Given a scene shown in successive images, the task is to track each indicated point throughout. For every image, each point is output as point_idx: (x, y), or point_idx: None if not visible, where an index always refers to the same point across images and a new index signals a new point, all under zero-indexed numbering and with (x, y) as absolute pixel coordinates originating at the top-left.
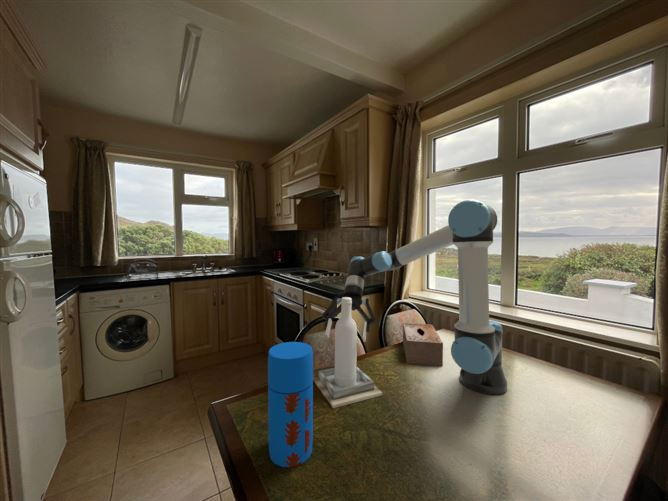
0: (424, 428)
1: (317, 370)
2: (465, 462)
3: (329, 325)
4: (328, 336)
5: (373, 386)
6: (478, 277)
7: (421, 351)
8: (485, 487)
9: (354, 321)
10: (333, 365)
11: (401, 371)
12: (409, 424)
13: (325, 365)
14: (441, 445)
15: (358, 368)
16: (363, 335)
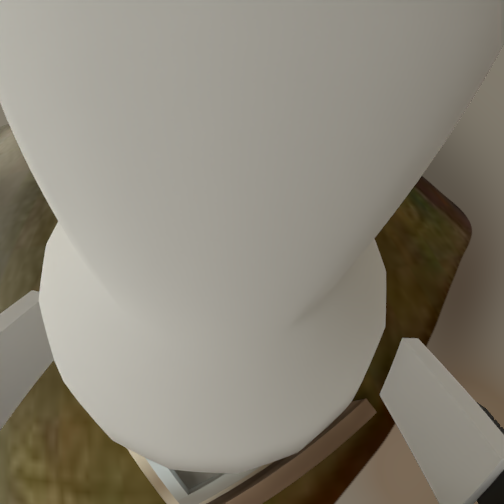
0: (16, 211)
1: (349, 411)
2: (4, 155)
3: (448, 406)
4: (387, 385)
5: None
6: None
7: None
8: (10, 129)
9: (51, 242)
10: (287, 465)
11: (3, 501)
12: (38, 217)
13: (326, 454)
14: (13, 176)
15: (154, 466)
16: (28, 305)
